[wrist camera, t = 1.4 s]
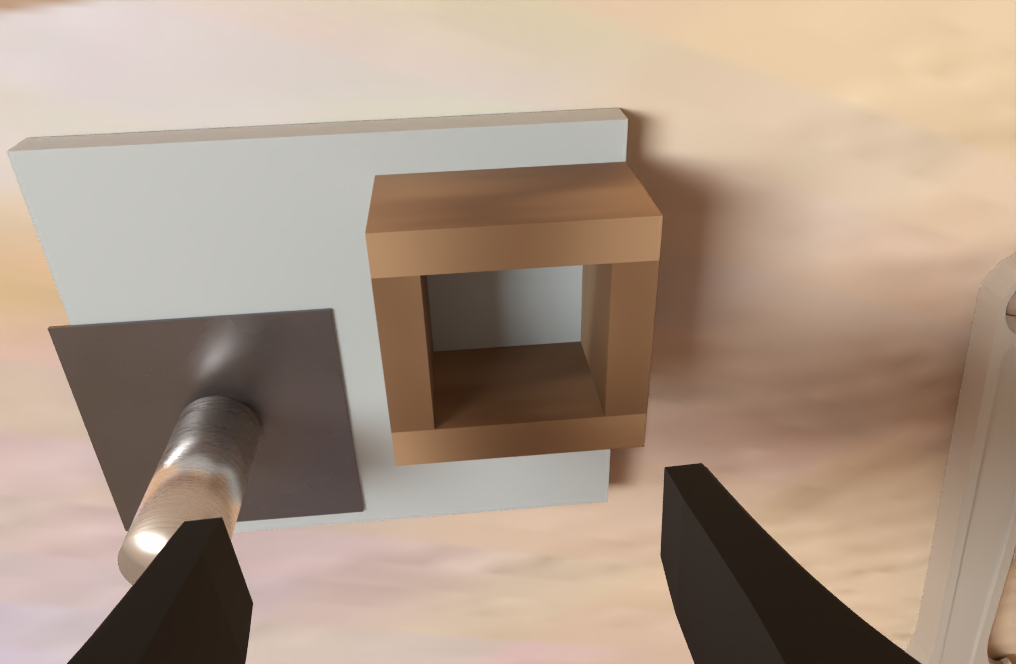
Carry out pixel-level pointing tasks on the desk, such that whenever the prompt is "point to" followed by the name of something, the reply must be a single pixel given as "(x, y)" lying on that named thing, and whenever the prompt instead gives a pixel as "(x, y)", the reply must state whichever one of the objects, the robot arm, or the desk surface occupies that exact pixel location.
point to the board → (317, 264)
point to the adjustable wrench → (975, 492)
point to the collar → (527, 368)
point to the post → (213, 420)
